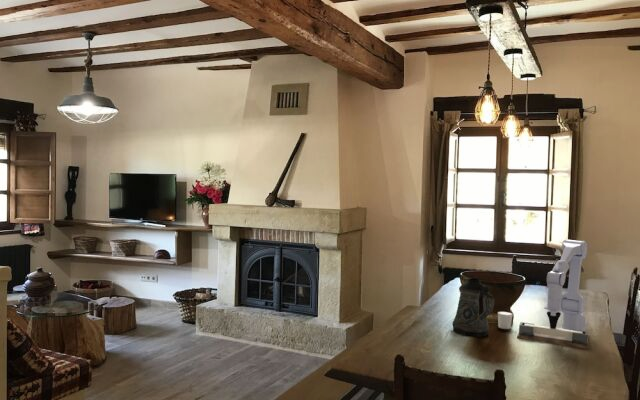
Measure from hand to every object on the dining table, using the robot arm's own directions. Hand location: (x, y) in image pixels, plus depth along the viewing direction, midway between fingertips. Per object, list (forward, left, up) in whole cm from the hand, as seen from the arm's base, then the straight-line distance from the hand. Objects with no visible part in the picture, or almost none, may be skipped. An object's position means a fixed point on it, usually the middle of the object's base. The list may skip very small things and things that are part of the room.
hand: (553, 328), depth 243 cm
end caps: (0, 0, -5) cm, 5 cm away
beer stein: (+31, -14, -6) cm, 35 cm away
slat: (0, 0, -3) cm, 3 cm away
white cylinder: (+11, -22, -6) cm, 25 cm away
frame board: (0, 0, -5) cm, 5 cm away
